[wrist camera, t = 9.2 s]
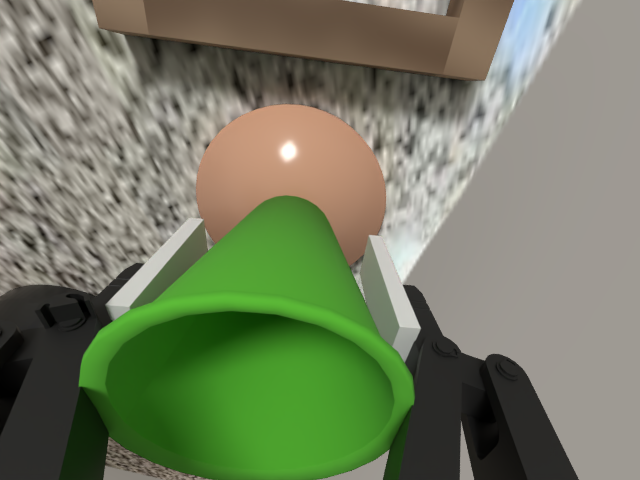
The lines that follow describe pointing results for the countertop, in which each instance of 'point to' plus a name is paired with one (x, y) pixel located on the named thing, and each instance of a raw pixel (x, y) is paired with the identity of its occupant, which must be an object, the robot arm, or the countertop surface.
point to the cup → (254, 360)
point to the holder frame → (326, 31)
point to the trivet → (293, 172)
